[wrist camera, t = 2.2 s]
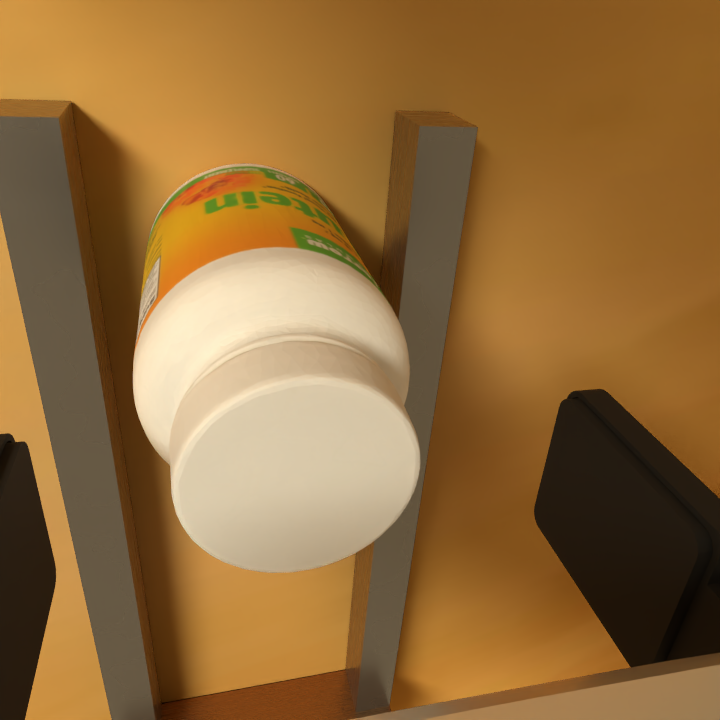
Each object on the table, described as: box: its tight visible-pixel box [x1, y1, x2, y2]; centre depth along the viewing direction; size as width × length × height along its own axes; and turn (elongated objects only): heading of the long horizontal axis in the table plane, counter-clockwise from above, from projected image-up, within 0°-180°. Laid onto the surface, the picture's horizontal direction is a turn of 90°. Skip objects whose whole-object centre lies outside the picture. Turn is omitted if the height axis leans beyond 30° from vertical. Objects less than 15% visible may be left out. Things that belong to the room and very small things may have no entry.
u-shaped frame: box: [0, 99, 478, 720], centre depth 21 cm, size 26×11×4 cm, turn 176°
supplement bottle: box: [133, 163, 420, 573], centre depth 14 cm, size 5×5×10 cm
